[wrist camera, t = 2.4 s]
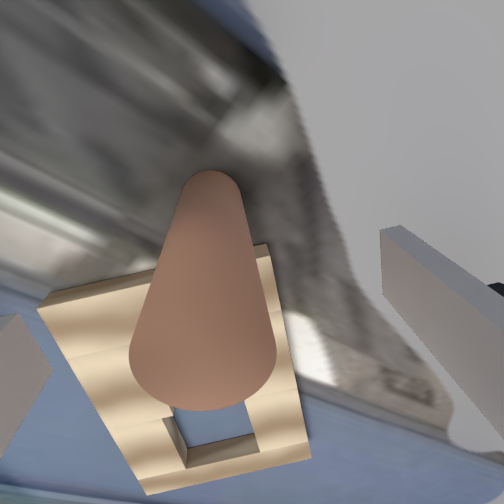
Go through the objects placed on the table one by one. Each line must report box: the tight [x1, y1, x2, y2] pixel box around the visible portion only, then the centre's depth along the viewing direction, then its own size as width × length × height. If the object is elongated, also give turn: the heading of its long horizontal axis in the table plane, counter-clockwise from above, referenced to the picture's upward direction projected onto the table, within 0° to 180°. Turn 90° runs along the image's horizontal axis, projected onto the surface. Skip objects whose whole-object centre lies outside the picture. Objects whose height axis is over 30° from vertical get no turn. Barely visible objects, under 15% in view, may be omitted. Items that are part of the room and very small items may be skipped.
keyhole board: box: [37, 244, 312, 495], centre depth 28 cm, size 22×16×2 cm
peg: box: [129, 170, 277, 411], centre depth 16 cm, size 4×4×15 cm
